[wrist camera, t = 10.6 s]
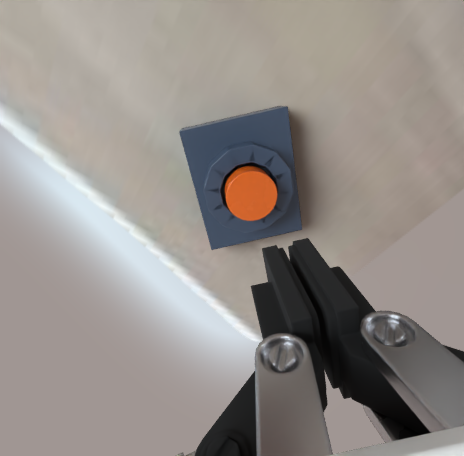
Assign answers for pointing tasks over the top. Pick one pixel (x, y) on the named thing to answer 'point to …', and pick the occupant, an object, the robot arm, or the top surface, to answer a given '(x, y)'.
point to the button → (250, 193)
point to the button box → (234, 157)
